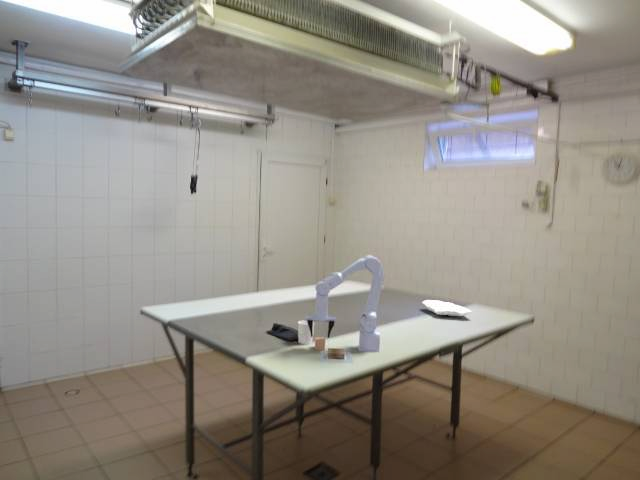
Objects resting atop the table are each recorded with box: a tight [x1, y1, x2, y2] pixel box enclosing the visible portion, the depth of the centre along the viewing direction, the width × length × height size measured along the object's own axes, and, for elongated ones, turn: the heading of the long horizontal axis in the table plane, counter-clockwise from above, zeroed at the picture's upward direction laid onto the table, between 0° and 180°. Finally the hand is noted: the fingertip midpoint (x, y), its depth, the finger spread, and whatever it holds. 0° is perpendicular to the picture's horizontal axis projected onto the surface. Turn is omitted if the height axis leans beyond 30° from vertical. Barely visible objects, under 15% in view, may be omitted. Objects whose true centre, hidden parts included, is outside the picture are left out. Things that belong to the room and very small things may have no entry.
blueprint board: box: [319, 350, 354, 364], centre depth 204 cm, size 14×14×1 cm
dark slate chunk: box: [266, 322, 298, 342], centre depth 235 cm, size 15×22×5 cm
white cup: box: [297, 319, 315, 345], centre depth 223 cm, size 8×8×10 cm
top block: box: [314, 336, 326, 351], centre depth 214 cm, size 4×4×5 cm
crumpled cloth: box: [421, 299, 473, 317], centre depth 294 cm, size 24×35×9 cm
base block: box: [327, 347, 345, 359], centre depth 204 cm, size 7×7×2 cm
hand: (320, 336), depth 214 cm, fingers open, 7 cm apart
